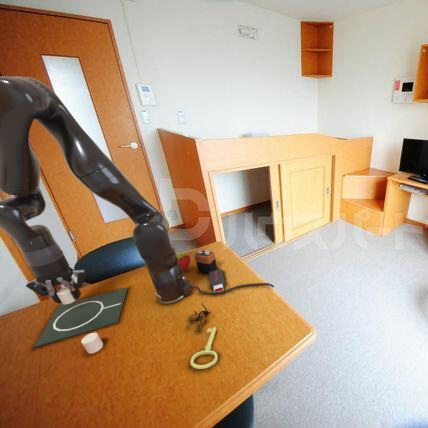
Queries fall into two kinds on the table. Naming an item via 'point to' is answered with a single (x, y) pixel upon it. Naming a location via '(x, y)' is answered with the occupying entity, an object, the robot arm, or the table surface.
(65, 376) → the table surface
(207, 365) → the key
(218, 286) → the usb drive
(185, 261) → the strawberry
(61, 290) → the eye puck
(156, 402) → the table surface
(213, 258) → the battery
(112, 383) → the table surface
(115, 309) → the chalkboard
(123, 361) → the table surface
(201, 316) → the creature
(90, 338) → the eye puck
